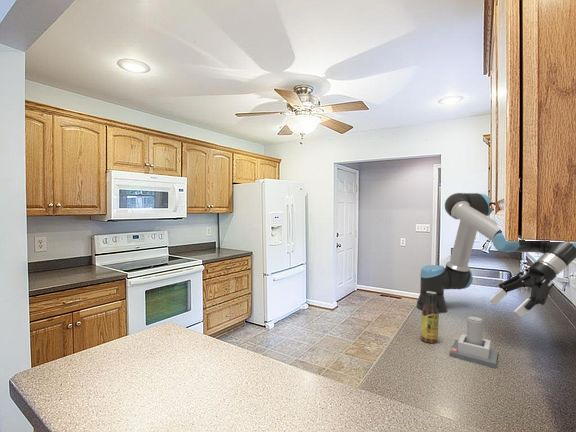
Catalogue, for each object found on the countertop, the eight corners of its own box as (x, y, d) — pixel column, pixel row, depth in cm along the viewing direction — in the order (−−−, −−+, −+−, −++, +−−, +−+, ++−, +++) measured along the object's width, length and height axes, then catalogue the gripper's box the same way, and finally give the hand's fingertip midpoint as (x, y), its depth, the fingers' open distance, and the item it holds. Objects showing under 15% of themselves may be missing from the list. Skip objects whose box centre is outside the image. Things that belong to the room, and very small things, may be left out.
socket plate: (455, 343, 123) (456, 331, 123) (497, 353, 115) (498, 340, 115) (449, 356, 112) (449, 342, 112) (495, 368, 104) (496, 353, 104)
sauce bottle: (428, 344, 122) (429, 294, 122) (417, 338, 128) (418, 290, 128) (441, 343, 124) (442, 293, 123) (430, 337, 130) (431, 290, 129)
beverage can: (467, 346, 117) (468, 315, 117) (482, 350, 114) (483, 318, 114) (465, 351, 113) (466, 318, 113) (481, 355, 110) (482, 321, 110)
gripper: (585, 283, 100) (538, 328, 101) (527, 269, 125) (489, 305, 126) (569, 267, 100) (522, 311, 101) (514, 256, 125) (476, 291, 126)
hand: (503, 308), depth 113 cm, fingers open, 13 cm apart
